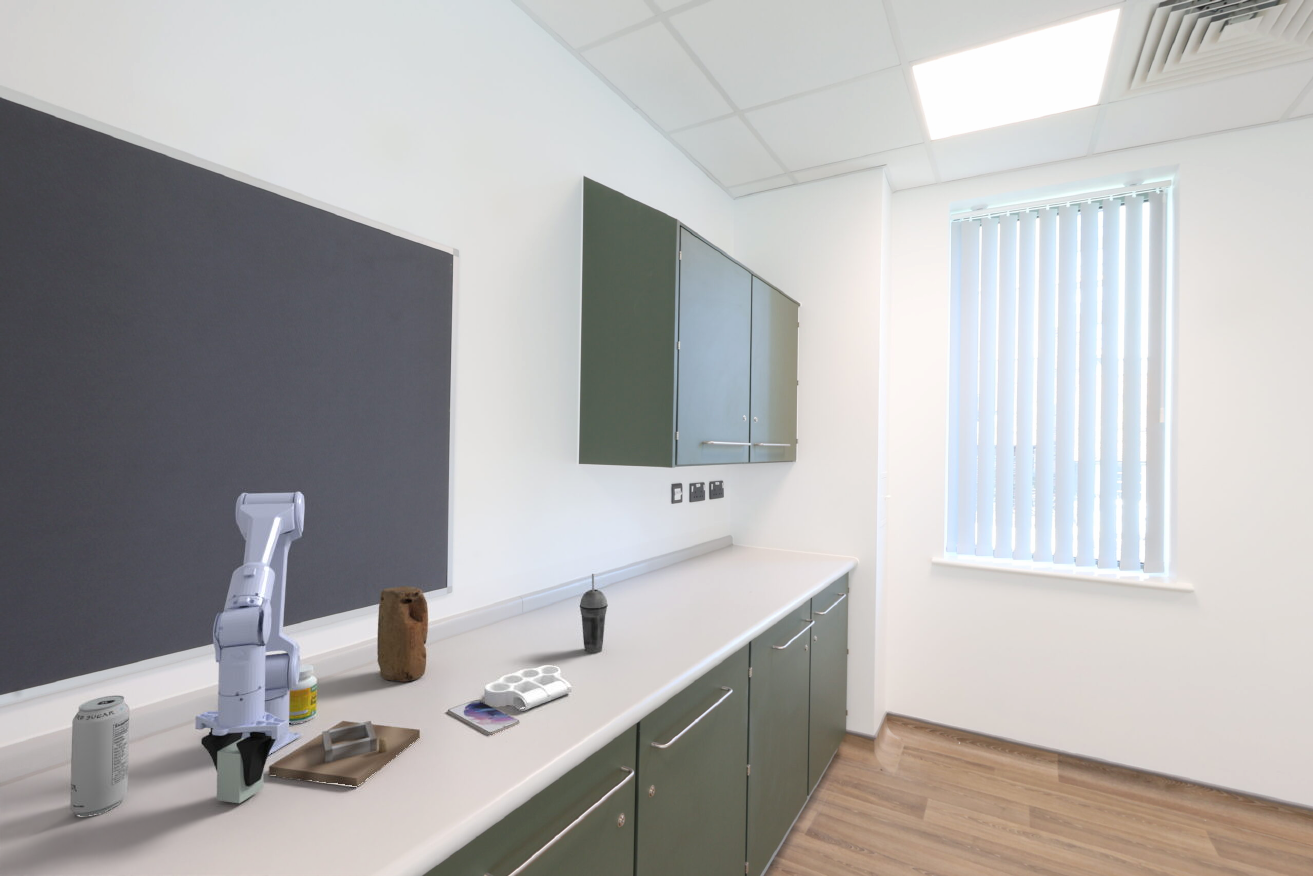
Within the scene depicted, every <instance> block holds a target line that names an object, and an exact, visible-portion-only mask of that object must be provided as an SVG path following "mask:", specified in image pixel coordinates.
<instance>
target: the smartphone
mask: <svg viewBox="0 0 1313 876" xmlns="http://www.w3.org/2000/svg"><path fill="white" fill-rule="evenodd" d="M446 711H447V712H448V713H449V714H448V713H447V714H448V715H450V714H451V716H452V715H453V716H452V717H454V716H455V717H454V718H455V719H457V718H458V720H459V719H460V720H459V721H461V720H462V721H461V722H462V723H465V724H466V725H468V724H469V725H468V726H471V728H474V729H475V730H477V729H478V730H477V731H479V732H481V733H482V732H483V734H484V733H485V735H486V734H487V735H486V736H488V735H491V736H494V735H496V734H495V733H497V734H499V733H501V732H503V730H504V731H506V730H508V729H511V728H513V727H515V725H516V726H518V725H520V724H519V723H521V722H520V720H519V719H517V718H515V717H513V716H511V715H508V713H507V714H506V713H505V712H503V711H501V710H499V709H497V708H496V707H491V706H489V705H487V704H485V703H484V702H482V701H480V700H478V699H476V700H472V701H469V702H466V703H465V702H464V703H463V704H460V705H456V706H454V707H452V708H448V709H447V710H446ZM510 727H511V728H510ZM505 729H506V730H505ZM500 731H501V732H500ZM498 732H499V733H498ZM493 734H494V735H493Z"/></svg>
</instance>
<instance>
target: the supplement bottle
mask: <svg viewBox="0 0 1313 876" xmlns="http://www.w3.org/2000/svg"><path fill="white" fill-rule="evenodd" d="M313 674H314V666H313V665H311V664H302V665H301V664H300V673H299V680H298V684H297V685H296V686H295V687H294V688H293V689H290V698H289V723H291V724H290V725H295V724H294V723H300V724H302V723H301V722H304V723H306V722H305V721H307V722H309V721H311V720H313V719H314V718H315V717H316V716H317V710H318V709H317V707H318V706H317V705H318V703H317V699H318V695H317V693H318V679H317V677H316V676H314V675H313ZM312 718H313V719H312ZM308 720H309V721H308Z"/></svg>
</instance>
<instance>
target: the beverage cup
mask: <svg viewBox="0 0 1313 876" xmlns="http://www.w3.org/2000/svg"><path fill="white" fill-rule="evenodd" d="M607 601H608V600H607V597H606V595H605V594H604V593H603V592H602V591H601V590H599V589H595V573H591V589H590V590H587V591H586V592H584V593H583V595H582V596H581V599H580V602H579V603H580V604H579V608H580V609H579V610H580V615H581V625H582V639H583V648H584V652H585V653H587V654H598V653H599V654H600V653H601V652H603V644H604V636H605V635H604V634H605V624H606V623H605V622H606V615H607V609H608V602H607Z"/></svg>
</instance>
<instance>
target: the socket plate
mask: <svg viewBox="0 0 1313 876" xmlns="http://www.w3.org/2000/svg"><path fill="white" fill-rule="evenodd" d="M420 732H421V730H420V729H415V728H409V727H408V728H407V727H400V726H398V727H397V726H390V725H381V724H375V723H373V724H372V720H368V721H365V722H354V721H345V720H342V721H340V722H339V723H337V724H335V725H334V726H332V727H330V728H329V729H327V730H323V731H321V734H319V735H318V736H316V737H314V738H313V739H311V740H309V741H308V742H306V743H304V744H303V745H301V746H300V747H298V748H296V749H295V750H293V751H291V752H290V753H288V754H287V755H285V756H283V757H282V758H280V759H278V760H277V761H275V762H274V763H272V764H271V765H269V766H268V776H269V775H276V776H279V777H278V778H281V777H285V778H284V779H288V778H292V779H291V780H295V779H300V780H299V781H302V780H312V781H319V782H326V783H338V784H345V785H352V786H358V785H359V784H361V783H362V782H364V781H365V780H366V779H367V778H369V777H370V776H371V775H372V774H374V773H375V772H377V771H378V770H379V769H380V770H382V769H383V768H384V767H385V766H387V765H388V764H389V763H390V762H392V761H393V760H394V759H396V758H397V757H396V755H398V754H399V753H400V752H402V751H403V750H404V749H405V748H407V747H408V746H409V745H410V744H412V743H413V742H414V743H415V742H417V741H418V740H419V739H420V738H421V737H420V735H421V733H420ZM418 738H419V739H418ZM417 739H418V740H417ZM416 740H417V741H416ZM414 743H413V744H414ZM413 744H412V745H413ZM410 746H411V745H410ZM410 746H409V747H410ZM409 747H408V748H409ZM408 748H407V749H408ZM405 750H406V749H405ZM405 750H404V751H405ZM404 751H403V752H404ZM403 752H402V753H403ZM400 754H401V753H400ZM400 754H399V755H400ZM399 755H398V756H399ZM392 759H393V760H392ZM391 760H392V761H391ZM389 761H390V762H389ZM388 762H389V763H388ZM387 763H388V764H387ZM386 764H387V765H386ZM384 765H385V766H384ZM383 766H384V767H383ZM382 767H383V768H382ZM381 768H382V769H381ZM380 770H379V771H380ZM379 771H378V772H379ZM378 772H377V773H378ZM375 774H376V773H375ZM375 774H374V775H375ZM370 778H371V777H370ZM370 778H369V779H370ZM365 782H366V781H365ZM365 782H364V783H365ZM361 785H362V784H361Z"/></svg>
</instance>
